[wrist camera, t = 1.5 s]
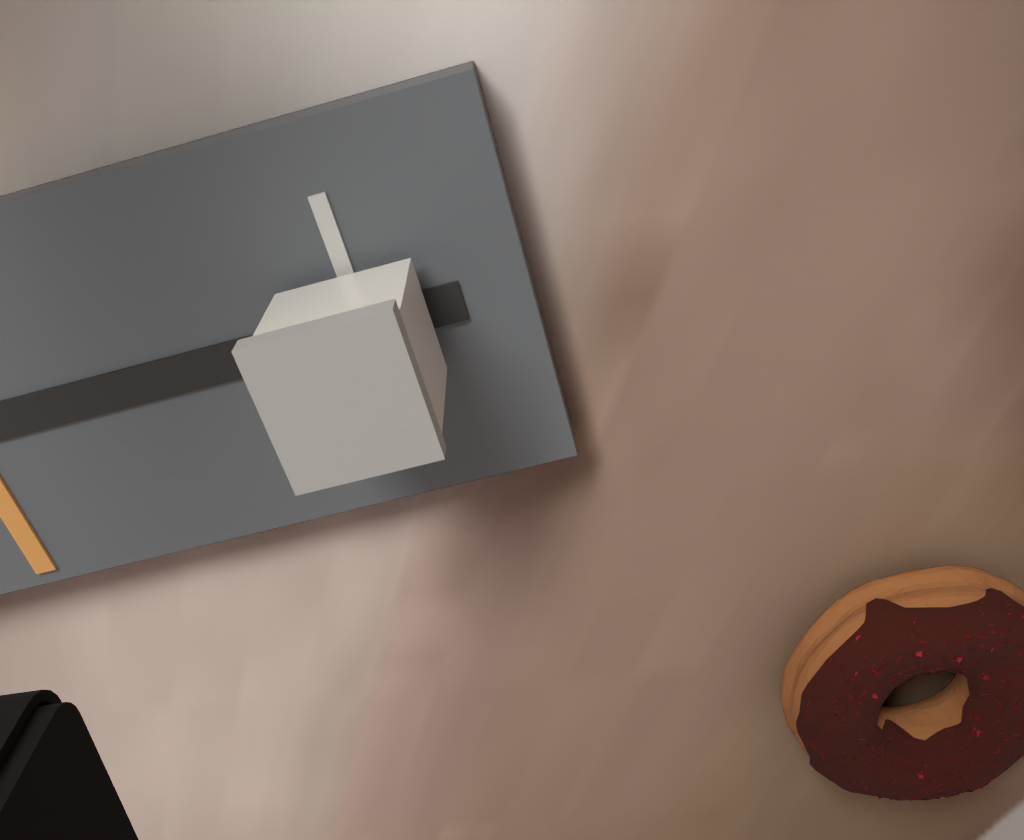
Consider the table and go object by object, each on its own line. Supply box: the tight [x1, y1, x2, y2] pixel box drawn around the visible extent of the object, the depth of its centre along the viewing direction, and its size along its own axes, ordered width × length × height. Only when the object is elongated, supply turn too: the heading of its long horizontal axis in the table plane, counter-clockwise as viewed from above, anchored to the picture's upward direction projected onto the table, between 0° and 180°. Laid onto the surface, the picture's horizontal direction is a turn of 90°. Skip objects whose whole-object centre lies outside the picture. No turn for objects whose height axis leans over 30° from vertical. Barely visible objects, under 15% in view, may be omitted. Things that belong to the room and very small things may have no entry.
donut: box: [781, 566, 1024, 800], centre depth 35 cm, size 10×10×4 cm
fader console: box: [0, 61, 577, 595], centre depth 29 cm, size 26×12×2 cm, turn 105°
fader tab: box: [231, 258, 447, 496], centre depth 25 cm, size 4×4×5 cm
